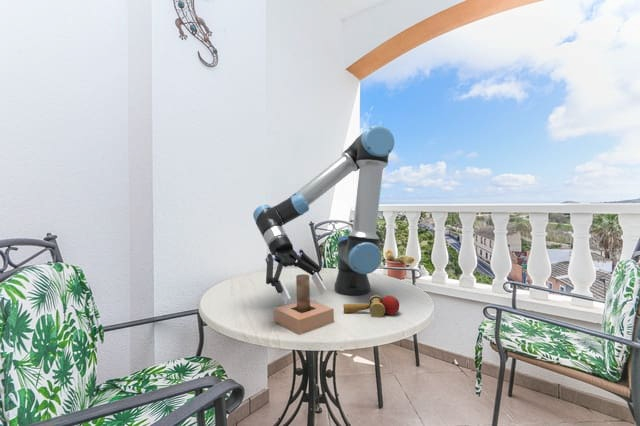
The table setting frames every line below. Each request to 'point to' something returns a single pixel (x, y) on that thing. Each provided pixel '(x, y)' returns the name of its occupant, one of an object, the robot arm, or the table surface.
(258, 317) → the table surface
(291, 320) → the socket block
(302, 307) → the peg
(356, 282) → the robot arm
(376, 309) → the kendama
